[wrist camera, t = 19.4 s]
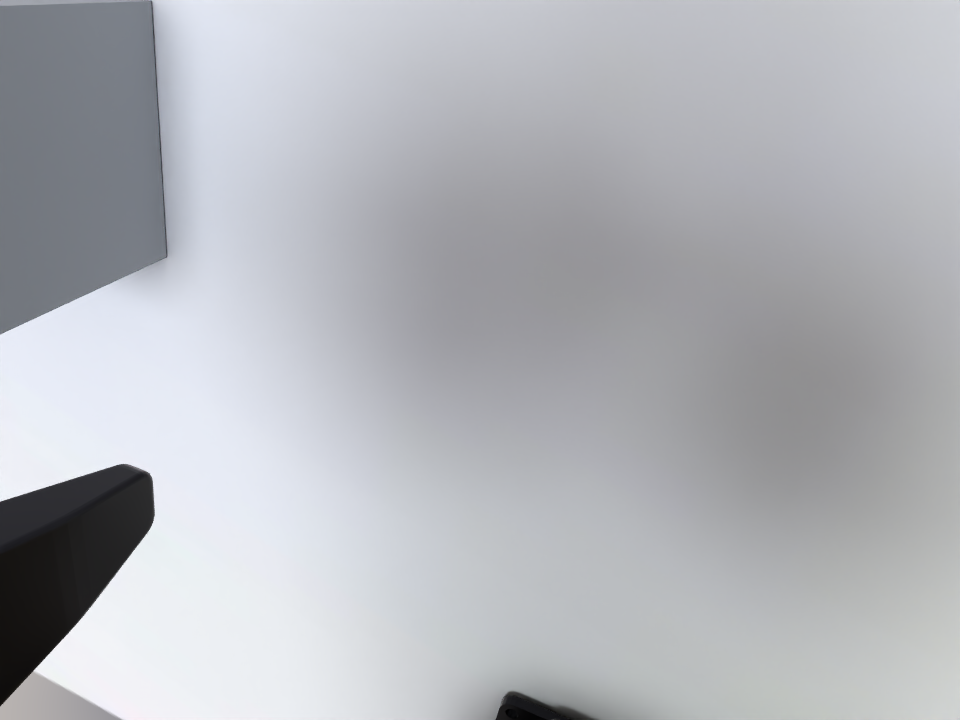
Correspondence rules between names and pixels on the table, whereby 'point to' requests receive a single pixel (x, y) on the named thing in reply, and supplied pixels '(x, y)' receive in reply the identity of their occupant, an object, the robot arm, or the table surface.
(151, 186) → the grey matte cube
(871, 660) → the table surface
